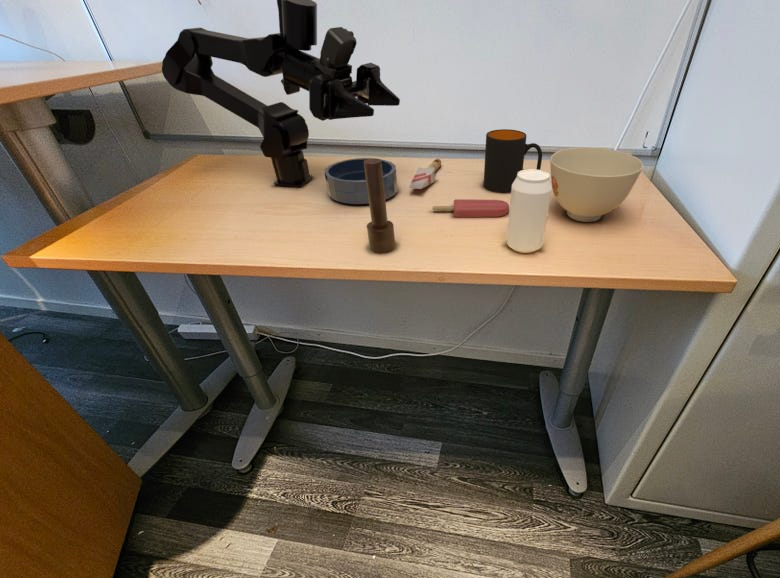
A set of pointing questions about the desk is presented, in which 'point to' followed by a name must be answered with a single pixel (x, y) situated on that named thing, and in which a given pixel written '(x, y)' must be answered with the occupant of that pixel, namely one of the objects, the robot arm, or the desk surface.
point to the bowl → (592, 180)
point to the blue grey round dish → (357, 180)
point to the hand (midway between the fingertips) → (386, 107)
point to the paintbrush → (425, 175)
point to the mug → (505, 158)
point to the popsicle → (477, 208)
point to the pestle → (378, 209)
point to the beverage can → (528, 210)
